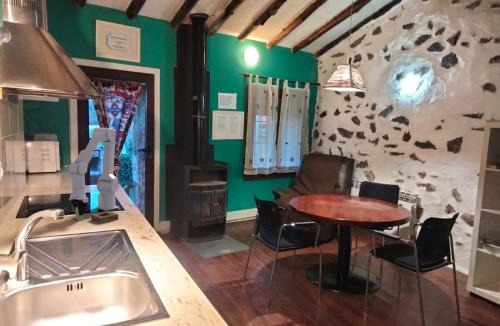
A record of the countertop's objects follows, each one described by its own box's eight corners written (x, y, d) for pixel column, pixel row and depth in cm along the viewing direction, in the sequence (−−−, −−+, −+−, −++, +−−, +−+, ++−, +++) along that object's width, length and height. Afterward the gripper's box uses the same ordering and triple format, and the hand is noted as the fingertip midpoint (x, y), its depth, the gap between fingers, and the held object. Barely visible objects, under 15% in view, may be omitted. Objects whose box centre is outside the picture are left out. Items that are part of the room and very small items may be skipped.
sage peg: (76, 219, 163) (75, 207, 162) (81, 217, 166) (81, 206, 165) (78, 220, 162) (78, 208, 161) (84, 219, 164) (83, 207, 163)
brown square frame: (91, 219, 163) (91, 214, 162) (108, 215, 170) (108, 210, 170) (100, 223, 157) (100, 218, 157) (118, 219, 164) (118, 214, 164)
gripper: (63, 186, 163) (64, 213, 165) (77, 190, 154) (78, 219, 156) (77, 184, 168) (79, 210, 170) (92, 188, 159) (93, 215, 161)
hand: (80, 214), depth 163 cm, fingers closed on sage peg, 3 cm apart
